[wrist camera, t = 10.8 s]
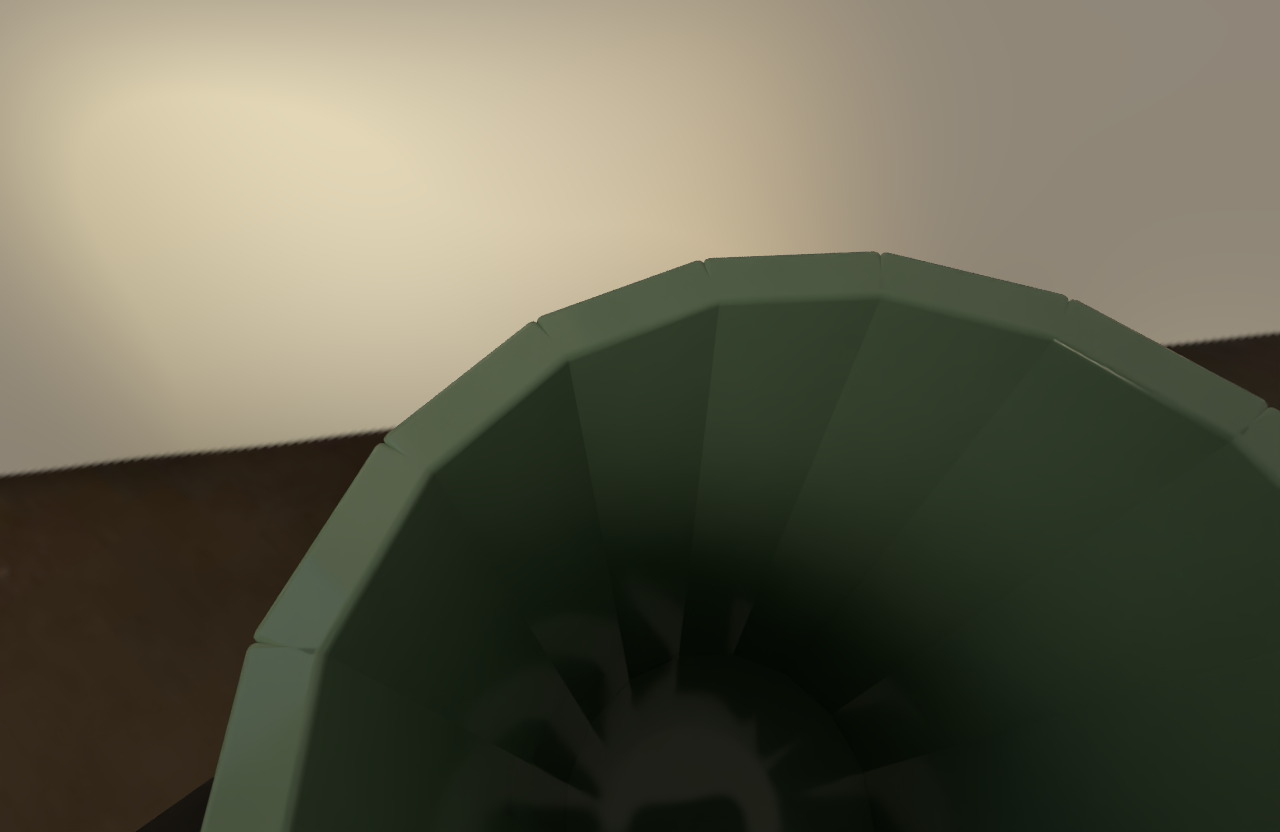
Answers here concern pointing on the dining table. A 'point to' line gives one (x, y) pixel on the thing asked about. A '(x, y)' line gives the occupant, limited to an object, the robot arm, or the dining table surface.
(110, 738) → the dining table surface
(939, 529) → the cup
